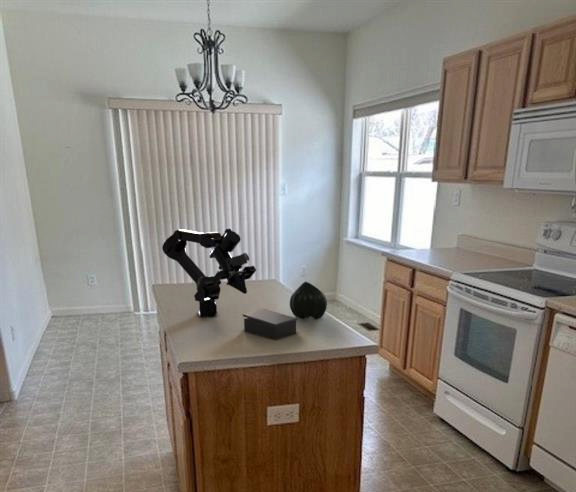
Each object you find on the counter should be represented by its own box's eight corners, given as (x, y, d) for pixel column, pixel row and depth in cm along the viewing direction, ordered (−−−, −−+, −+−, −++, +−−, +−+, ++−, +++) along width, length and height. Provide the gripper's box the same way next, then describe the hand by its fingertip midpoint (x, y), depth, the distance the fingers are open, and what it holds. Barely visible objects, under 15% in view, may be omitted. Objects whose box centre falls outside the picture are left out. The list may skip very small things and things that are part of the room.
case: (244, 330, 199) (244, 318, 197) (265, 324, 207) (265, 312, 205) (275, 339, 189) (275, 326, 187) (296, 332, 197) (296, 320, 196)
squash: (323, 311, 206) (326, 277, 211) (285, 310, 208) (289, 277, 213) (326, 327, 219) (329, 295, 224) (290, 326, 222) (294, 294, 227)
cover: (242, 316, 197) (242, 314, 197) (263, 310, 205) (264, 308, 205) (275, 326, 187) (275, 324, 187) (296, 320, 196) (296, 318, 195)
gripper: (216, 248, 191) (238, 283, 189) (252, 244, 204) (273, 276, 202) (202, 268, 199) (223, 301, 196) (238, 262, 212) (258, 294, 210)
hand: (245, 293), depth 201 cm, fingers closed
